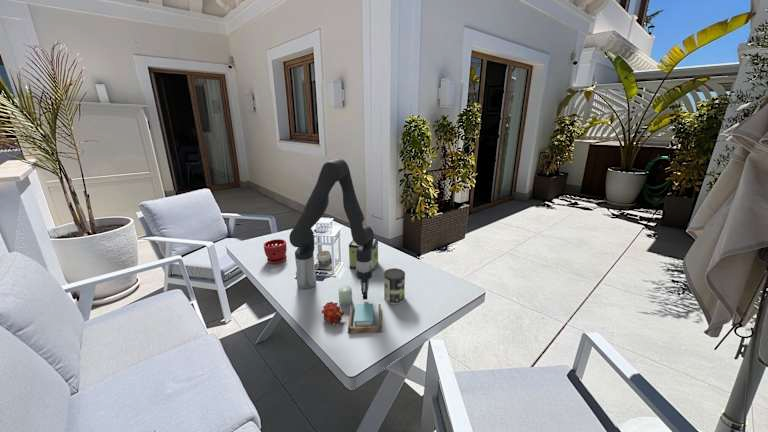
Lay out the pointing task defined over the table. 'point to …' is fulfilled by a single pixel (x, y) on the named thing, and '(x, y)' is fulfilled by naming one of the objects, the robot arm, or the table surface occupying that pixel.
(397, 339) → the table surface
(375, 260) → the protein box
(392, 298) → the coffee can
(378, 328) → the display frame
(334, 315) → the dragon fruit
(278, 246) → the plant pot
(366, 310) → the teal carton
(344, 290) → the pale green dome
